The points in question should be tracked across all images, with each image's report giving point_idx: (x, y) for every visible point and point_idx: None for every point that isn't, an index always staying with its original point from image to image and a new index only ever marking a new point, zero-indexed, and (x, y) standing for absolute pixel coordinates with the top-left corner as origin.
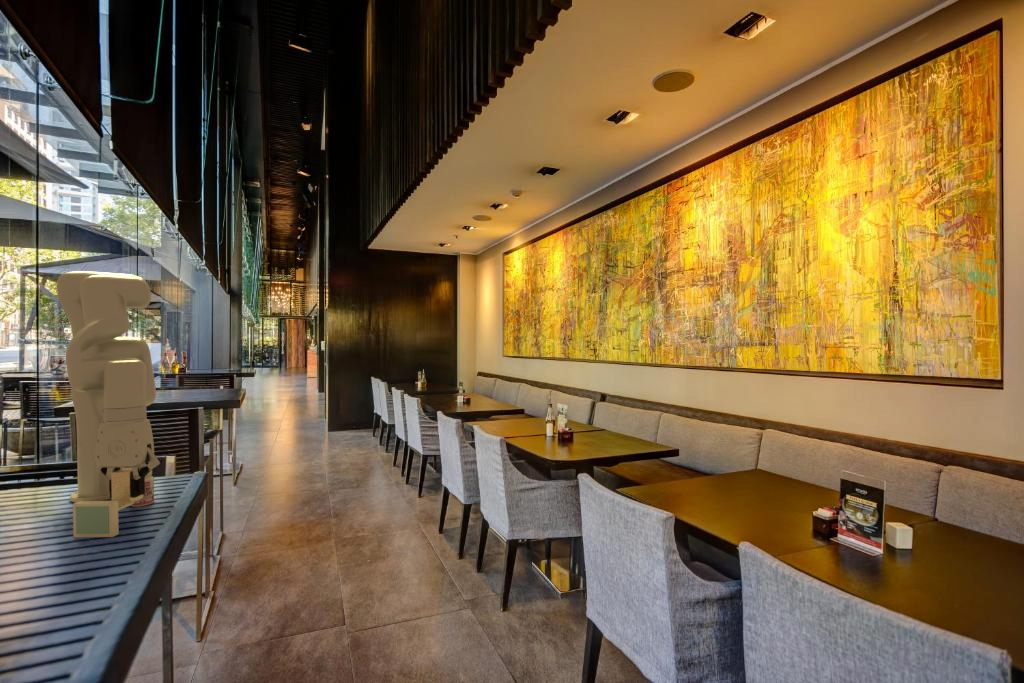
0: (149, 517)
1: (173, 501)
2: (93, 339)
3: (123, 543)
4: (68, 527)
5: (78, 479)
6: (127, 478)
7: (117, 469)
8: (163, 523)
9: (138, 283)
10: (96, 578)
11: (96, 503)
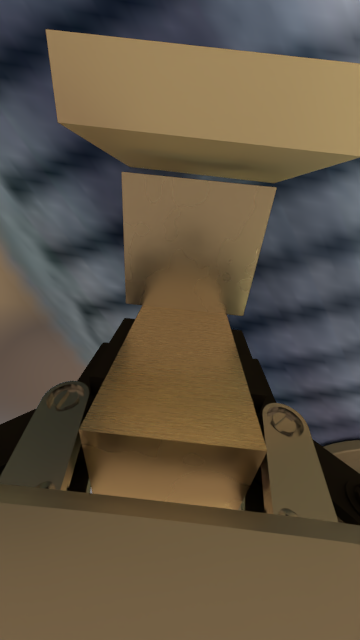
0: (134, 318)
1: None
2: None
3: (18, 14)
4: (345, 266)
5: None
6: (122, 385)
7: (263, 510)
8: (49, 258)
9: None
10: None
11: (186, 48)
